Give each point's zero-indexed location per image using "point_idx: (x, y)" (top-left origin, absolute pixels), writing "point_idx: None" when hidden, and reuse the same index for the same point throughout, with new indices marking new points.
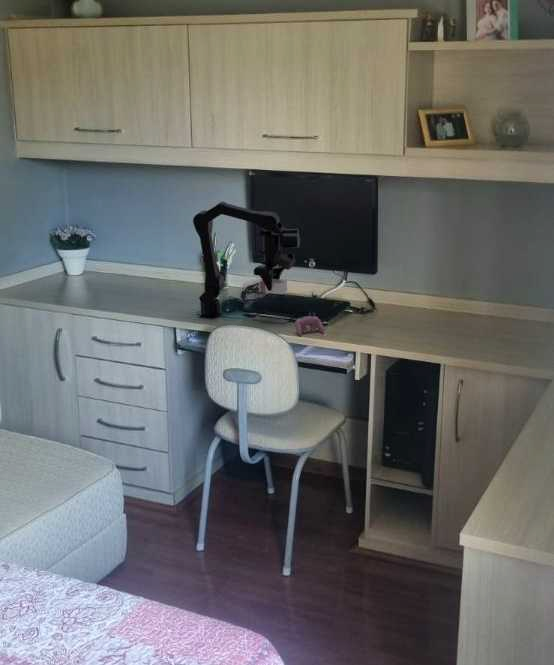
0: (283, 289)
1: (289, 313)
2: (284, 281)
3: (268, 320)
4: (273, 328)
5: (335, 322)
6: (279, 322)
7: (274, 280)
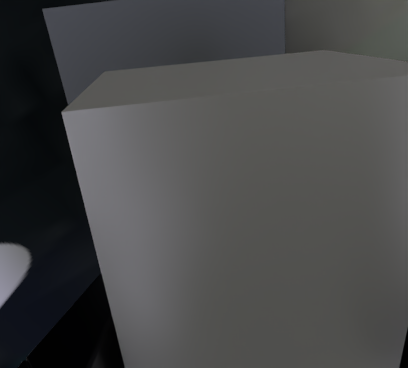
0: (252, 64)
1: (37, 90)
2: (212, 104)
3: None
4: (403, 2)
5: None
6: (283, 28)
7: (232, 346)
